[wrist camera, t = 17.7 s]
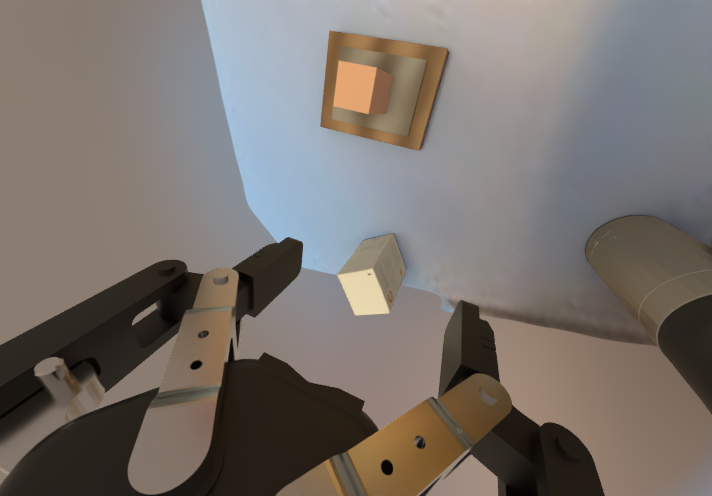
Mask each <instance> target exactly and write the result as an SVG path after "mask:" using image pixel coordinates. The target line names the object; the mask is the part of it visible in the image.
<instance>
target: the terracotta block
mask: <svg viewBox="0 0 712 496" xmlns="http://www.w3.org/2000/svg"><path fill="white" fill-rule="evenodd" d="M393 79H394V76H392V75H390V74H388V73H387V72H385V71H383V70H381V69H379V68H376V67H371V66H366V65H360V64H355V63H349V62H344V61H339V62H338V71H337V79H336V88H335V96H334V105H333V106H335V107H340V108H344V109H348V110H353V111H357V112H361V113H366V114H386V112H387V107H388V103H389V98H390V93H391V89H392V84H393Z"/></svg>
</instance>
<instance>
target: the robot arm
mask: <svg viewBox="0 0 712 496" xmlns="http://www.w3.org/2000/svg"><path fill="white" fill-rule="evenodd" d="M585 250H586V257H587V260H588V262H589V263H590V264H591V266H592V267H593V268H594V269H595V271H596V272H597V273H598V274H599V275H600V277H601V278H602V279H603V281H604V282H605V283H606V284H607V285H608V287H609V288H610V289H611V290H612V292H613V293H614V294H615V295H616V296H617V298H618V299H619V300H620V301H621V303H622V304H623V305H624V306H625V307H626V309H627V310H628V311H629V312H630V314H631V315H632V316H633V317H634V318H635V320H636V321H637V322H638V323H639V324H640V326H641V327H642V328H643V329H644V330H645V332H646V333H647V334H648V335H649V336H650V338H651V339H652V340H653V341H654V343H655V344H656V345H657V346H658V347H659V349H660V350H661V351H662V352H663V354H665V356H666V357H667V358H668V359H669V361H670V362H671V363H672V364H673V365H674V367H675V368H676V369H677V370H678V372H679V373H680V374H681V375H682V377H683V378H684V379H685V380H686V382H687V383H688V384H689V385H690V387H691V388H692V389H693V390H694V392H695V393H696V394H697V395H698V397H699V398H700V399H701V400H702V401H703V403H704V404H705V406H706V407H707V408H708V410H709V411H710V412H711V414H712V248H711V247H709V246H708V245H706V244H704V243H702V242H700V241H698V240H697V239H695V238H693V237H691V236H689V235H687V234H686V233H684V232H682V231H681V230H679V229H677V228H675V227H673V226H671V225H670V224H668V223H666V222H664V221H662V220H660V219H658V218H654V217H650V216H641V215H637V216H627V217H623V218H619V219H616V220H613V221H611V222H609V223H607V224H605V225H603V226H602V227H600V228H599V229H598V230H596V231H595V232H594V234H593V235H592V236H591V237H590V239H589V240H588V242H587V245H586V249H585ZM302 252H303V243H302V242H301V241H298V240H295V239H293V238H290V237H287V238H285V239H284V240H283V241H281V242H280V243H273V244H270V245H267V246H265V247H263V248H262V249H260V250H259V252H256V253H255V254H253V256H252V255H251V256H250V257H248V258H247V259H246V260H244V261H242V262H241V263H239V264H238V265H236V266H235V267H233V268H232V269H230V268H216V269H213V270H210V271H209V272H207V273H205V274H198V273H191V272H188V270H187V266H186V264H185V263H184V262H182V261H179V260H165V261H161V262H158V263H155V264H153V265H151V266H149V267H148V268H146V269H144V270H142V271H140V272H138V273H136V274H134V275H132V276H130V277H129V278H127V279H125V280H123V281H121V282H119V283H117V284H116V285H113V286H112V287H110V288H108V289H106V290H104V291H102V292H100V293H98V294H97V295H94V296H93V297H91V298H89V299H87V300H85V301H83V302H81V303H80V304H78V305H76V306H74V307H72V308H70V309H68V310H66V311H64V312H62V313H60V314H59V315H57V316H55V317H53V318H51V319H49V320H47V321H45V322H44V323H42V324H40V325H38V326H36V327H34V328H32V329H30V330H28V331H26V332H25V333H23V334H21V335H19V336H17V337H15V338H13V339H11V340H10V341H8V342H6V343H4V344H2V345H0V471H1V472H3V473H5V474H6V475H8V476H7V477H6V479H5V480H4V481H3V482H2V484H1V485H0V496H429V495H430V494H431V493H432V492H433V491H434V490H435V489H436V488H437V487H438V486H439V485H440V484H441V483H442V482H443V481H444V480H445V479H446V478H447V477H448V476H449V475H450V474H451V473H452V472H454V471H455V469H457V468H458V467H459V466H460V465H461V464H462V463H463V462H464V461H465V460H466V459H467V458H468V457H469V456H471V455H473V456H474V457H475V458H476V459H478V460H479V461H480V462H481V463H482V464H483V465H484V466H486V467H487V468H488V469H489V470H490V471H491V472H493V473H494V474H495V475H496V476H497V477H498V496H605V495H604V492H603V489H602V485H601V482H600V479H599V476H598V473H597V470H596V467H595V463H594V461H593V458H592V456H591V454H590V452H589V451H588V450H587V448H586V447H585V446H584V444H583V443H582V442H581V441H580V440H579V438H577V437H576V436H575V435H574V434H573V433H572V432H571V431H569V430H568V429H566V428H564V427H563V426H561V425H558V424H555V423H549V422H548V423H545V424H543V425H542V426H541V427H540V426H539V425H538V424H536V423H535V422H534V421H532V420H531V419H529V418H528V417H527V416H525V415H524V414H522V413H521V412H520V411H518V410H517V409H516V408H515V407H514V406H513V405H512V401H511V398H510V396H509V394H508V392H507V390H506V389H505V388H504V387H503V386H502V385H501V384H500V379H499V371H498V363H497V355H496V352H495V351H496V347H495V344H494V343H495V339H494V332H493V330H492V329H491V327H490V325H489V323H488V322H487V321H484V320H481V319H480V318H479V307H478V306H477V305H474V304H471V303H468V302H466V301H463V300H460V301H459V303H458V305H457V307H456V309H455V311H454V313H453V315H452V317H451V319H450V321H449V323H448V325H447V328H446V331H445V335H444V344H443V353H442V364H441V374H440V385H439V394H438V398H437V399H435V398H434V397H430V398H428V399H426V400H425V401H423V402H422V403H420V404H419V405H417V406H416V407H414V408H412V409H411V410H409V411H408V412H406V413H405V414H403V415H402V416H400V417H399V418H397V419H396V420H394V421H393V422H391V423H390V424H388V425H387V426H385V427H383V428H382V429H380V430H378V428H377V426H376V425H375V424H374V422H373V421H372V420H371V419H370V417H369V416H368V415H367V414H366V413H364V412H363V411H362V408H363V405H364V402H365V401H363V400H361V399H359V398H357V397H355V396H353V395H351V394H349V393H347V392H345V391H343V390H341V389H339V388H334V387H329V386H324V385H319V384H314V383H310V382H308V381H306V380H305V379H304V378H303V377H302V376H301V375H300V374H298V373H297V372H296V371H295V370H294V369H293V368H292V367H291V366H290V365H288V364H287V363H285V362H283V361H281V360H279V359H277V358H275V357H273V356H271V355H269V354H267V353H263V355H262V356H261V357H260V359H258V360H256V359H240V360H239V349H240V338H241V327H242V317H243V316H244V315H245V314H248V315H250V316H252V317H256V316H257V315H258V314H259V313H260V312H261V311H262V310H263V309H264V308H265V307H266V306H268V304H270V303H271V302H272V301H273V300H274V299H275V298H276V297H277V296H278V295H279V294H280V293H281V292H282V291H283V290H284V289H285V288H286V287H287V286H288V285H289V284H290V283H291V282H292V281H293V280H294V279H295V278H296V277H297V276H298V274H299V272H300V270H301V264H302ZM154 303H156V305H157V309H156V310H155V311H153V312H152V313H150V314H149V315H147V316H146V317H144V318H143V319H142V320H140V321H139V322H137V323H136V324H134V325H133V326H132V321H133V320H134V318H135V317H136V316H137V315H138V314H139V313H140V312H142V311H143V310H145V309H146V308H148V307H150V306H151V305H152V304H154ZM177 333H178V335H177V337H176V341H175V344H174V347H173V350H172V352H171V355H170V358H169V361H168V364H167V367H166V371H165V373H164V376H163V379H162V383H161V385H160V387H158V388H155V389H152V390H150V391H147V392H144V393H141V394H139V395H136V396H133V397H131V398H128V399H125V400H122V401H120V402H117V403H114V404H111V405H109V406H106V407H103V408H100V409H98V410H96V408H97V407H98V405H99V404H100V403H101V401H102V400H103V397H104V394H105V393H106V392H107V391H108V390H109V389H111V388H112V387H113V386H114V385H116V384H117V383H118V382H119V381H120V380H122V379H123V378H124V377H125V376H126V375H127V374H129V373H130V372H131V371H132V370H134V369H135V368H136V367H137V366H138V365H139V364H141V363H142V362H143V361H144V360H145V359H147V358H148V357H149V356H150V355H152V354H153V353H154V352H155V351H156V350H158V349H159V348H160V347H161V346H162V345H163V344H165V343H166V342H167V341H168V340H170V339H171V338H172V337H173V336H175V335H176V334H177Z"/></svg>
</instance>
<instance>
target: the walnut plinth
mask: <svg viewBox="0 0 712 496" xmlns="http://www.w3.org/2000/svg"><path fill="white" fill-rule="evenodd" d="M448 54H449V51H448V48H441V47H434V46H428V45H421V44H414V43H408V42H401V41H395V40H388V39H381V38H375V37H368V36H361V35H355V34H348V33H342V32H335V31H329V41H328V52H327V63H326V73H325V84H324V94H323V105H322V116H321V126H320V127H324V128H328V129H332V130H336V131H341V132H345V133H349V134H353V135H357V136H361V137H365V138H369V139H373V140H377V141H382V142H386V143H390V144H394V145H398V146H402V147H406V148H410V149H414V150H418V151H419V150H420V149H421V148H422V144H423V141H424V137H425V134H426V130H427V127H428V123H429V120H430V116H431V113H432V109H433V106H434V102H435V99H436V95H437V92H438V88H439V85H440V82H441V78H442V75H443V71H444V68H445V64H446V61H447V57H448ZM339 61H344V62H349V63H355V64H360V65H366V66H371V67H376V68H379V69H381V70H383V71H385V72H387V73H388V74H390V75H392V76H394V79H393V84H392V89H391V93H390V98H389V103H388V107H387V112H386V114H366V113H361V112H357V111H353V110H348V109H344V108H340V107H335V106H333V105H334V96H335V88H336V79H337V71H338V62H339Z"/></svg>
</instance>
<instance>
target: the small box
mask: <svg viewBox="0 0 712 496" xmlns="http://www.w3.org/2000/svg"><path fill="white" fill-rule="evenodd" d="M405 272H406V267H405V264H404V261H403V258H402V256H401V253H400V250H399V247H398V244H397V241H396V238H395V236H394V234H389V235H385V236H380V237H376V238H372V239H367V240H364V241H363V242H362V243H361V245H360V246H359V247H358V249H357V250H356V251H355V252H354V254H353V255H352V256H351V258H350V259H349V260H348V262H347V263H346V264H345V265H344V267H343V268H342V269H341V271H340V272H339V273H338V274H337V276H338V278H339V280H340V282H341V285H342V287H343V289H344V291H345V294H346V296H347V298H348V300H349V303H350V305H351V307H352V309H353V312H354V314H355V315H368V314H386V313H390V311H391V309H392V305H393V303H394V301H395V298H396V296H397V293H398V290H399V288H400V285H401V283H402V280H403V277H404V275H405Z"/></svg>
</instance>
